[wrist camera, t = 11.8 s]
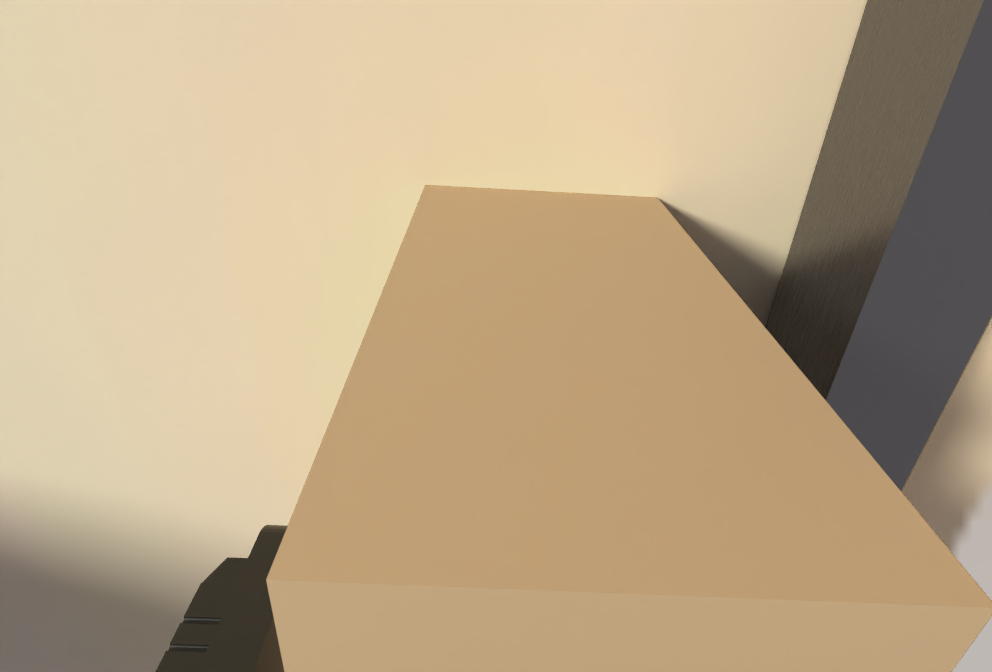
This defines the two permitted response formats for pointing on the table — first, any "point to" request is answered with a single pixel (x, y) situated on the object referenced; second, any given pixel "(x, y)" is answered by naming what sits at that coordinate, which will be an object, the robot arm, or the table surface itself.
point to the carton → (596, 472)
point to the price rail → (897, 228)
